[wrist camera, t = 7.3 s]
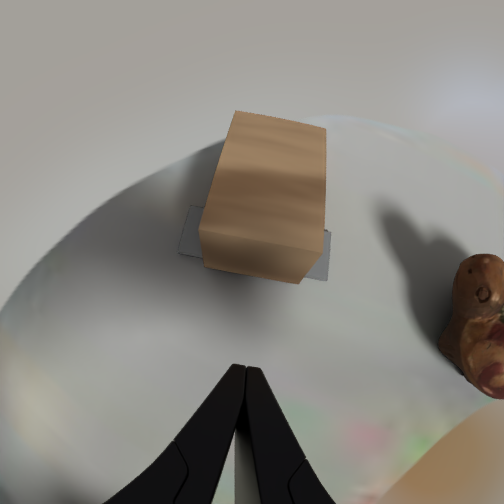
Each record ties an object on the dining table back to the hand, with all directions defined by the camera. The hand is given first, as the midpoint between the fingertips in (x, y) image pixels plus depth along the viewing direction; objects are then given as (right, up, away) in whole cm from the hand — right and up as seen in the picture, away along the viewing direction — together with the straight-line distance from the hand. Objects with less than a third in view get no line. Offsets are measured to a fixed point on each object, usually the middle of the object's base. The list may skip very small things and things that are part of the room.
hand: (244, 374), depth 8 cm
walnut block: (0, +3, +8) cm, 9 cm away
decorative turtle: (+18, -4, +10) cm, 22 cm away
